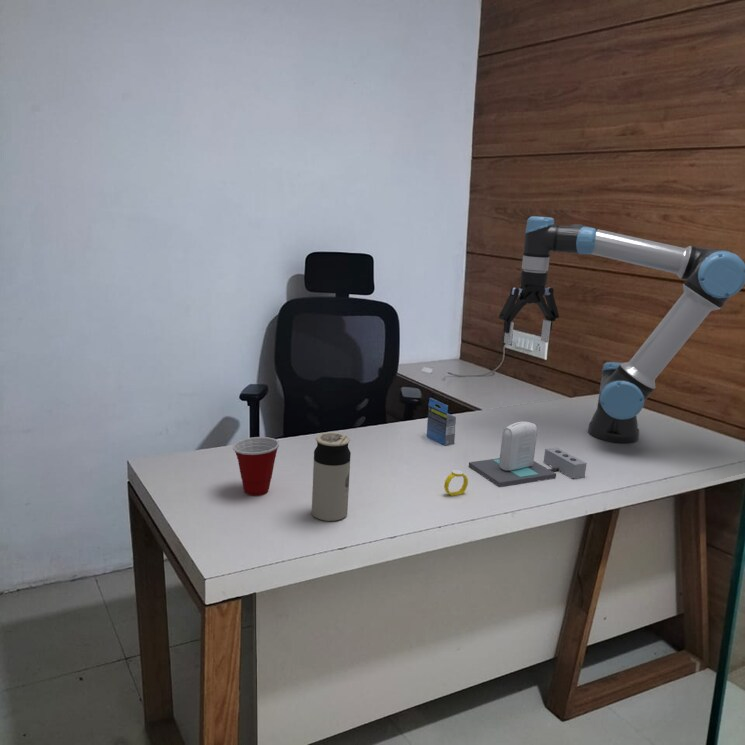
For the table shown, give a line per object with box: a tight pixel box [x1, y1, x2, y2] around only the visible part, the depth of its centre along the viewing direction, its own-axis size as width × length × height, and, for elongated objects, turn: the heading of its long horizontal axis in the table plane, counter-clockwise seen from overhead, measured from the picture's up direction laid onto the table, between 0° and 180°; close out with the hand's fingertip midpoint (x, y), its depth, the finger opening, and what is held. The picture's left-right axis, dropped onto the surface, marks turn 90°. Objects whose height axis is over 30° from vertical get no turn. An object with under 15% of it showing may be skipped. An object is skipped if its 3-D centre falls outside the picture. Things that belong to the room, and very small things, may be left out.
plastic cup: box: [232, 436, 280, 497], centre depth 166 cm, size 11×11×12 cm
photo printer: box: [499, 421, 538, 471], centre depth 187 cm, size 10×4×12 cm, turn 124°
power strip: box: [543, 447, 587, 479], centre depth 191 cm, size 9×12×4 cm
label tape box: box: [426, 397, 457, 446], centre depth 207 cm, size 9×4×12 cm, turn 34°
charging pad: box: [468, 457, 557, 488], centre depth 188 cm, size 18×14×1 cm
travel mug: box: [311, 431, 351, 522], centre depth 156 cm, size 8×8×18 cm
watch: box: [443, 469, 469, 497], centre depth 172 cm, size 6×3×6 cm, turn 118°
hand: (526, 342), depth 211 cm, fingers open, 13 cm apart
